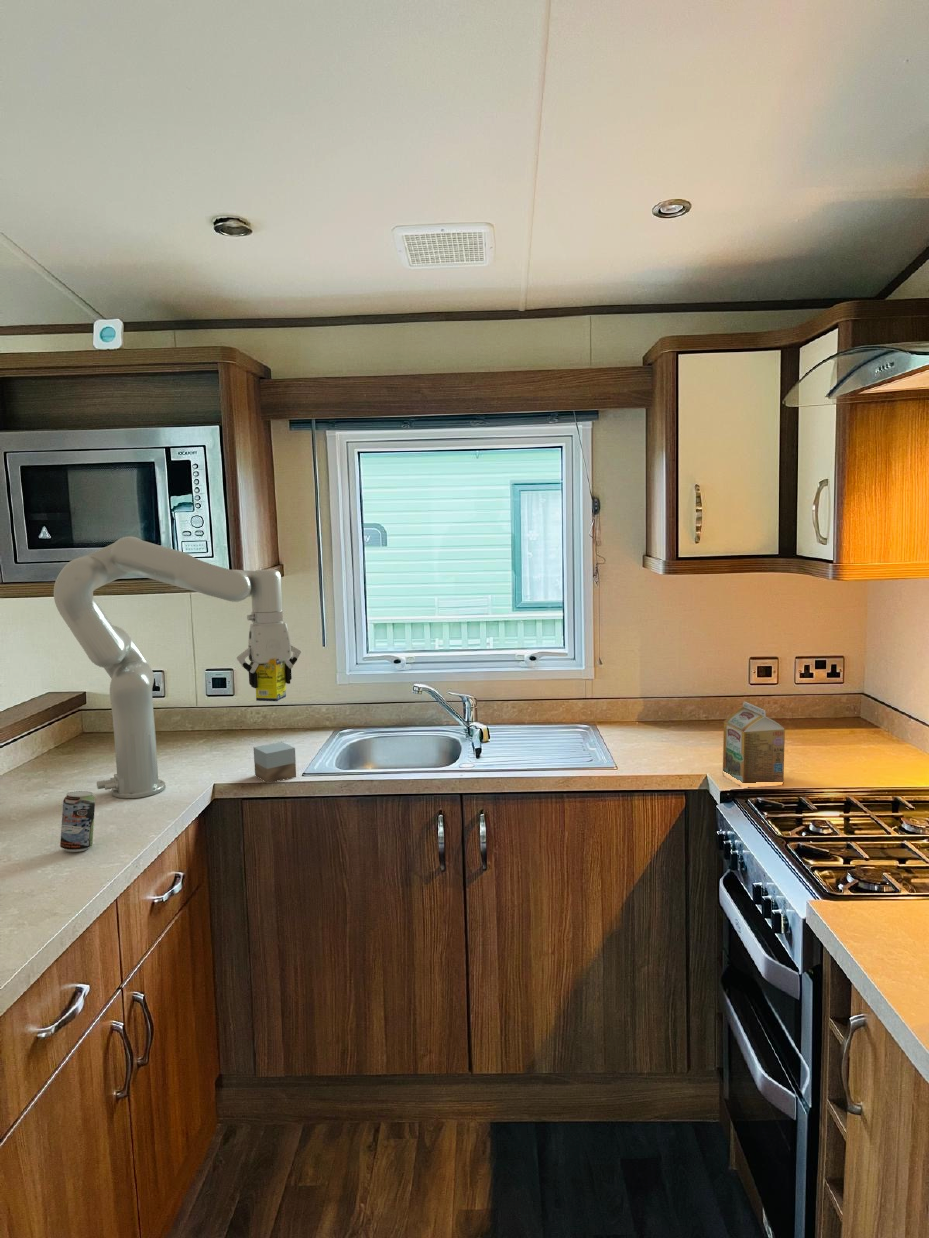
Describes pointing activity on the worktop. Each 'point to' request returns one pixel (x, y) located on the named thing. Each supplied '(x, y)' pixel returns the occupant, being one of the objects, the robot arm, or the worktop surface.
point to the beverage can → (77, 821)
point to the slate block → (274, 755)
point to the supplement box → (271, 681)
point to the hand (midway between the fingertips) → (270, 684)
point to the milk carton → (753, 746)
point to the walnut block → (275, 772)
